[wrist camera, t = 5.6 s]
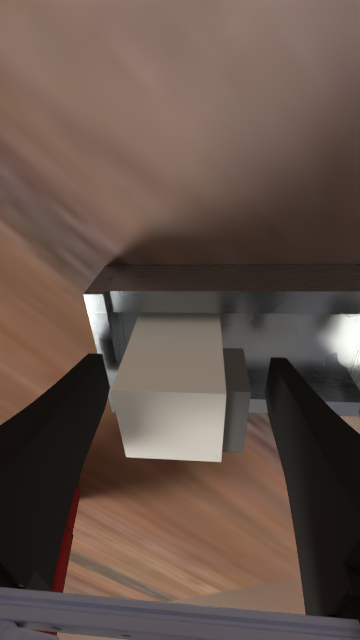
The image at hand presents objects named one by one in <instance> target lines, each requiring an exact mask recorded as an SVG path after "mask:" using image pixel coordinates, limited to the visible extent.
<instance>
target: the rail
mask: <svg viewBox="0 0 360 640" xmlns="http://www.w3.org/2000/svg"><path fill="white" fill-rule="evenodd" d="M83 295H84V299H85V303H86V307H87V312H88V316H89V320H90V324H91V328H92V332H93V336H94V340H95V344H96V348H97V352H98V354H102V355H103V359H104V363H105V368H106V372H107V376H108V380H109V385H110V390H109V394H108V397H109V401H110V406H111V410H112V412H116V411H115V407H114V403H113V398H112V394H111V388H112V385H113V383H114V380H115V377H116V375H117V372H118V369H119V367H120V364H121V361H122V359H123V356H124V353H125V351H126V348H127V345H128V343H129V340H130V337H131V334H132V332H133V329H134V326H135V324H136V321H137V318H138V316H139V313H220V323H221V335H222V347H223V348H243V350H244V355H245V361H246V366H247V372H248V377H249V383H250V388H251V397H250V404H249V411H248V412H249V413H268V411H267V405H266V398H265V387H266V382H267V376H268V371H269V365H270V359H271V357H283V358H287V359H288V360H289V362H290V363H291V364H292V365H293V366H294V368H295V369H296V370H297V371H298V372H299V374H300V375H301V376H302V377H303V378H304V379H305V381H306V382H307V383H308V384H309V385H310V386H311V387H312V389H313V390H314V391H315V392H316V393H317V394H318V395H319V396H320V397H321V398H322V399H323V400H324V401H325V403H326V404H327V405H328V406H329V407H330V408H331V409H332V410H333V411H334V412H335V413H336V414H337V415H338V416H359V417H360V265H167V266H105V267H104V268H103V270H102V271H101V272H100V274H99V275H98V276H97V277H96V279H95V280H94V281H93V283H92V284H91V285H90V286H89V288H88V289H87V290H86V292H85V293H84V294H83Z"/></svg>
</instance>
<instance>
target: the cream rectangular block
mask: <svg viewBox="0 0 360 640" xmlns="http://www.w3.org/2000/svg"><path fill="white" fill-rule="evenodd" d="M111 394H112V398H113V403H114V407H115V411H116V416H117V420H118V424H119V428H120V433H121V437H122V441H123V446H124V450H125V454H126V457H132V458H152V459H171V460H191V461H210V462H221V458H222V451H224V452H243V446H244V439H245V432H246V425H247V418H248V411H249V404H250V397H251V388H250V383H249V377H248V372H247V366H246V361H245V355H244V350H243V348H223V347H222V335H221V323H220V313H139V316H138V318H137V321H136V324H135V326H134V329H133V332H132V334H131V337H130V340H129V343H128V345H127V348H126V351H125V353H124V356H123V359H122V361H121V364H120V367H119V369H118V372H117V375H116V377H115V380H114V383H113V385H112V388H111Z"/></svg>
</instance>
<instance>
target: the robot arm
mask: <svg viewBox="0 0 360 640" xmlns="http://www.w3.org/2000/svg"><path fill="white" fill-rule="evenodd" d="M109 390H110V385H109V380H108V376H107V372H106V368H105V363H104V359H103V355H102V354H88V355H86V356H85V357H84V358H83V359H82V360H81V361H80V362H79V363H78V364H77V365H76V366H74V367H73V368H72V369H71V370H70V371H69V372H68V373H67V374H66V375H65V376H63V377H62V378H61V379H60V380H59V381H58V382H57V383H56V384H54V385H53V386H52V387H51V388H50V389H48V390H47V391H46V392H45V393H44V394H42V395H41V396H40V397H39V398H37V399H36V400H35V401H34V402H33V403H31V404H30V405H29V406H27V407H26V408H25V409H23V410H22V411H20V412H19V413H18V414H16V415H15V416H13V417H12V418H10V419H9V420H8V421H6V422H5V423H3V424H1V425H0V640H59V638H58V636H56V635H51V634H47V633H43V632H39V631H34V630H41V631H51V632H60V633H70V634H80V635H89V636H99V637H109V638H119V639H128V640H360V434H359V433H358V432H356V431H355V430H354V429H353V428H352V427H351V426H349V425H348V424H347V423H346V422H345V421H344V420H343V419H342V418H341V417H340V416H338V415H337V414H336V413H335V412H334V411H333V410H332V409H331V408H330V407H329V406H328V405H327V404H326V403H325V401H324V400H323V399H322V398H321V397H320V396H319V395H318V394H317V393H316V392H315V391H314V390H313V389H312V387H311V386H310V385H309V384H308V383H307V382H306V381H305V379H304V378H303V377H302V376H301V375H300V374H299V372H298V371H297V370H296V369H295V368H294V366H293V365H292V364H291V363H290V362H289V360H288V359H287V358H283V357H271V359H270V365H269V371H268V376H267V382H266V387H265V398H266V405H267V411H268V416H269V420H270V424H271V427H272V431H273V435H274V438H275V442H276V445H277V449H278V452H279V456H280V460H281V463H282V467H283V471H284V475H285V480H286V485H287V491H288V496H289V502H290V508H291V514H292V520H293V526H294V532H295V538H296V545H297V552H298V559H299V565H300V573H301V581H302V588H303V596H304V603H305V611H306V615H299V614H288V613H277V612H267V611H255V610H244V609H234V608H223V607H212V606H201V605H190V604H179V603H168V602H158V601H147V600H136V599H125V598H114V597H103V596H92V595H81V594H70V593H59V592H51V591H52V587H53V582H54V578H55V573H56V568H57V564H58V559H59V554H60V550H61V545H62V541H63V537H64V533H65V529H66V525H67V521H68V516H69V513H70V509H71V505H72V501H73V498H74V494H75V490H76V487H77V483H78V480H79V476H80V473H81V469H82V466H83V463H84V461H85V458H86V455H87V453H88V450H89V448H90V445H91V443H92V440H93V438H94V435H95V433H96V430H97V428H98V425H99V422H100V420H101V417H102V415H103V412H104V409H105V406H106V402H107V398H108V394H109ZM30 629H31V630H30Z"/></svg>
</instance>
